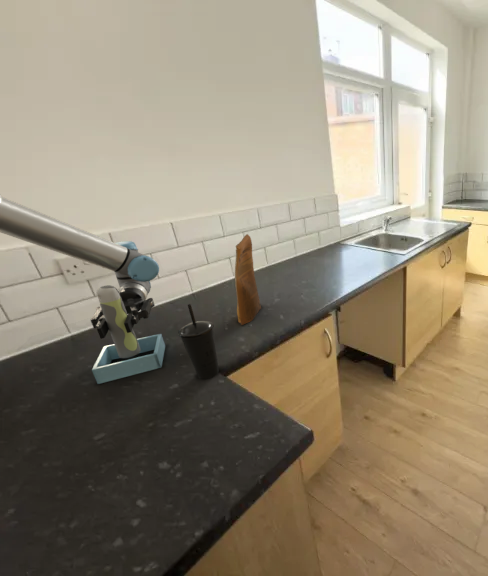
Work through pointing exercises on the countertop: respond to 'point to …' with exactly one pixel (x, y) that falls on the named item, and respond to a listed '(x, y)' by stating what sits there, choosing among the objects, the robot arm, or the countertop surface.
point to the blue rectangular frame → (132, 366)
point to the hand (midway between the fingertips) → (114, 330)
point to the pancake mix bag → (245, 282)
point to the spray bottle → (117, 321)
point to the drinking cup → (200, 346)
